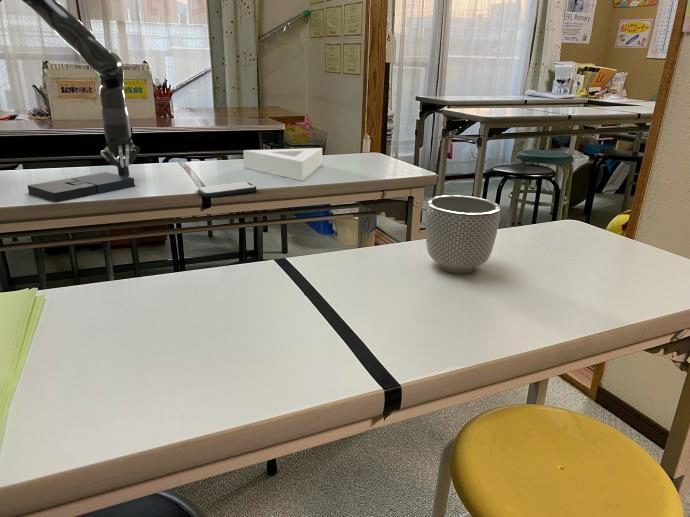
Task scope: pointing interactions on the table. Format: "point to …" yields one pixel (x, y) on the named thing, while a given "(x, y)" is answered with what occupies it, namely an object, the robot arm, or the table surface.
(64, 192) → the black pad
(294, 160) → the triangle block
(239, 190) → the phone case
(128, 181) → the slate pad
